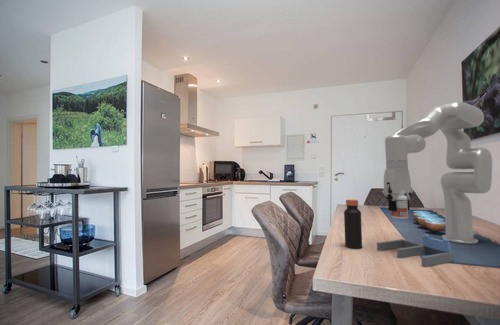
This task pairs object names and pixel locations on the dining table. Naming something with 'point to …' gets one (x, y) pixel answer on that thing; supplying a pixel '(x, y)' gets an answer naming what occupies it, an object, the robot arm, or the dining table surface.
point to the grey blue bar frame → (421, 250)
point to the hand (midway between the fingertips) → (399, 209)
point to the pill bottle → (400, 206)
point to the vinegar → (352, 225)
